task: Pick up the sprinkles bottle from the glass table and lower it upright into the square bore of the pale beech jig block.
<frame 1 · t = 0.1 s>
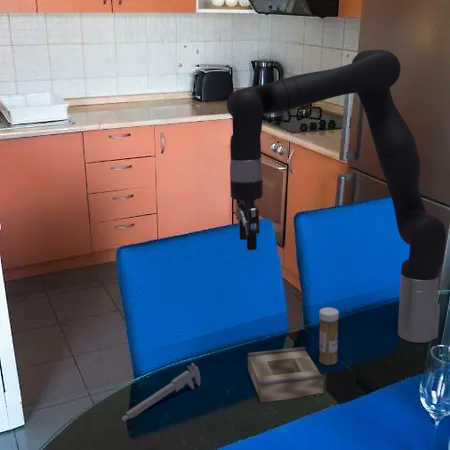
hand: (247, 244, 141), 29 cm above the table, tool pointing down, fingers open, 8 cm apart
jig: (284, 382, 136), on the table
caliper: (162, 403, 130), on the table
sprinkles bottle: (328, 362, 145), on the table
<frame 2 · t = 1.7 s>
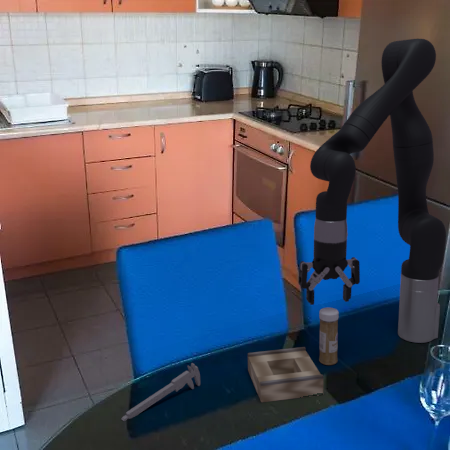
hand: (328, 302, 140), 16 cm above the table, tool pointing down, fingers open, 8 cm apart
nothing on the table moved.
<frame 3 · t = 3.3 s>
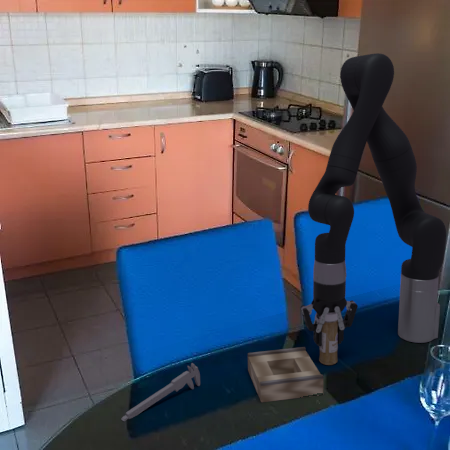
hand: (328, 343, 143), 5 cm above the table, tool pointing down, fingers closed on sprinkles bottle, 4 cm apart
sprinkles bottle: (328, 362, 145), on the table, touching gripper
everything else where it was.
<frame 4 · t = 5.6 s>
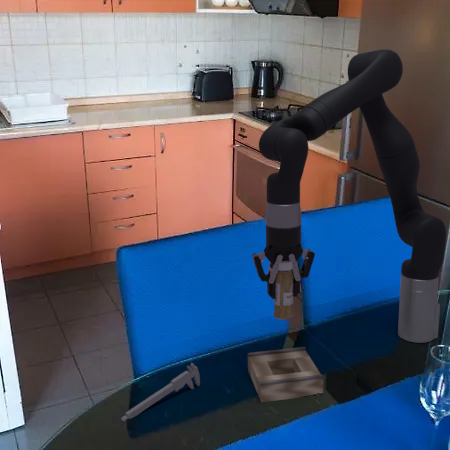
hand: (283, 296, 130), 21 cm above the table, tool pointing down, fingers closed on sprinkles bottle, 4 cm apart
sprinkles bottle: (283, 317, 132), point 16 cm above the table, touching gripper
everything else where it was.
when the fingers open (6 cm above the table, at t = 8.0 s): sprinkles bottle drops 1 cm, resting in jig.
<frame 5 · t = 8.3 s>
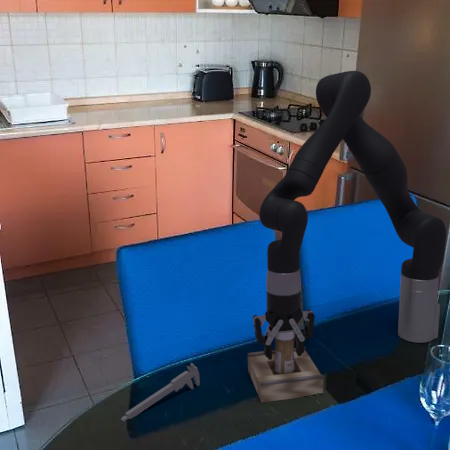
hand: (284, 356, 134), 7 cm above the table, tool pointing down, fingers open, 6 cm apart
sprinkles bottle: (284, 382, 136), resting in jig
everything else where it was.
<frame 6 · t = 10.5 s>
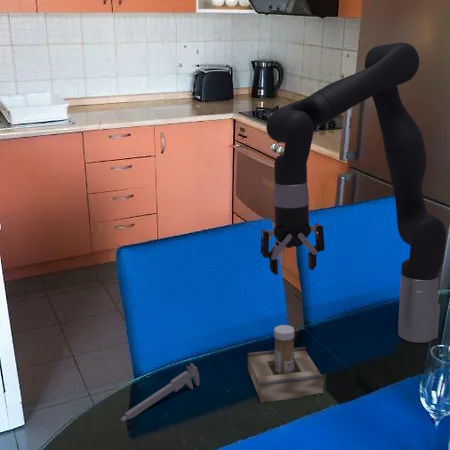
hand: (293, 271, 134), 25 cm above the table, tool pointing down, fingers open, 8 cm apart
nothing on the table moved.
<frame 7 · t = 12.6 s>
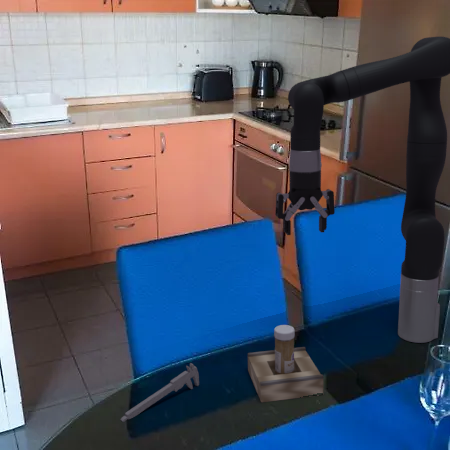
hand: (304, 233, 145), 30 cm above the table, tool pointing down, fingers open, 8 cm apart
nothing on the table moved.
at the end: sprinkles bottle 0.1 cm off-centre on the jig, point 0.0 cm above the jig's base; sprinkles bottle tilted 0°; the gripper is holding nothing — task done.
